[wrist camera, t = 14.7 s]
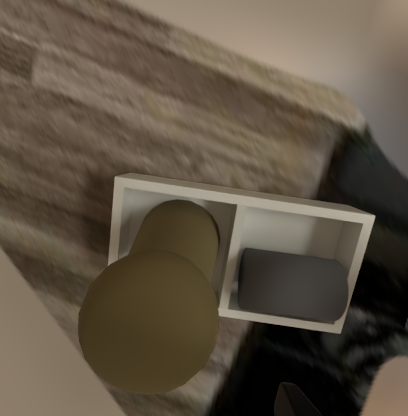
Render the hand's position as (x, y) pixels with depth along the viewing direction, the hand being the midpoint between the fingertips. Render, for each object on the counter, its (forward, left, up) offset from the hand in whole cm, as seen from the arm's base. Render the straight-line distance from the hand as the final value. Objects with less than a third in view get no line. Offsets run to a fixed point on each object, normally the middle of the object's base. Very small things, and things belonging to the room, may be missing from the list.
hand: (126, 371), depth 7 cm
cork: (0, 0, -12) cm, 12 cm away
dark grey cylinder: (-8, +1, -10) cm, 13 cm away
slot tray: (-4, 0, -13) cm, 14 cm away
